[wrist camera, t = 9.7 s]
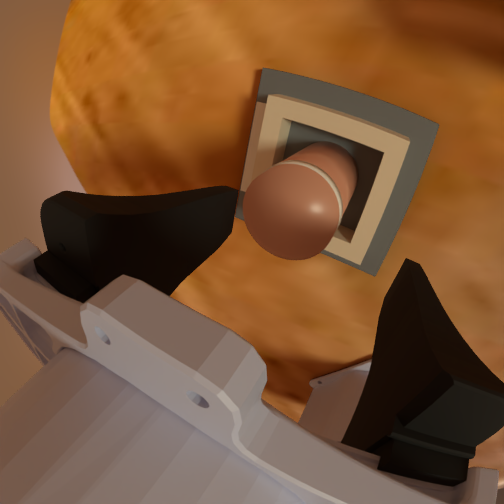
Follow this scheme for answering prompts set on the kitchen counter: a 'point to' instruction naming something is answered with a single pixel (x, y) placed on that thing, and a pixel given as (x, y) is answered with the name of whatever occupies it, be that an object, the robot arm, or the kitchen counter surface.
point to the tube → (301, 200)
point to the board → (356, 143)
